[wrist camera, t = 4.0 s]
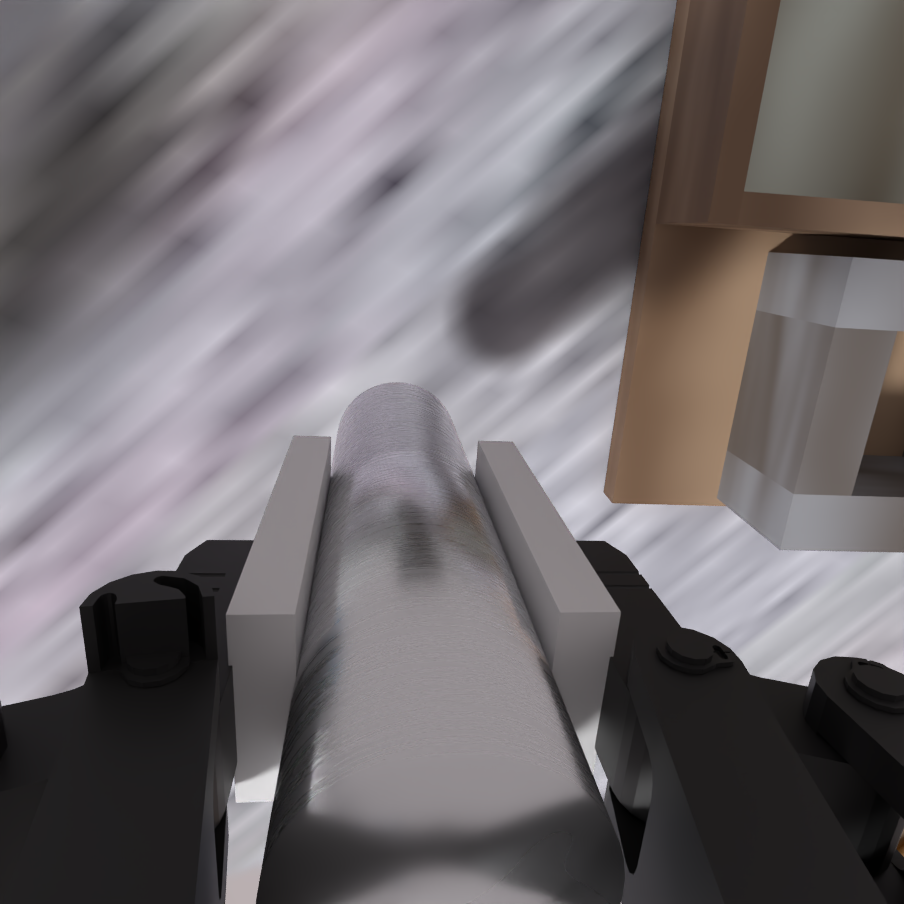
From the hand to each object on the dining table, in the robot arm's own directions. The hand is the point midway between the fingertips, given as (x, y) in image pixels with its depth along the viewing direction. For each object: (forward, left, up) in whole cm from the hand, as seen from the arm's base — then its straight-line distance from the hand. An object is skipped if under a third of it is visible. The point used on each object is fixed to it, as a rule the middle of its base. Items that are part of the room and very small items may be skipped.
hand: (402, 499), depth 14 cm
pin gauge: (0, 0, -4) cm, 4 cm away
